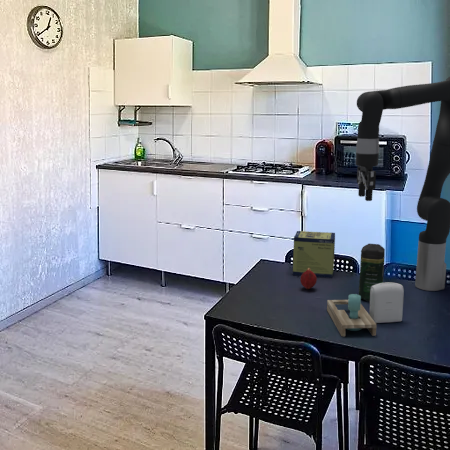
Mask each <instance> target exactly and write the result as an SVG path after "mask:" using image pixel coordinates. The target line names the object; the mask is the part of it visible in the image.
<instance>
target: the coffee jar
mask: <svg viewBox="0 0 450 450" xmlns="http://www.w3.org/2000/svg"><path fill="white" fill-rule="evenodd" d="M385 251H386V250H385V247H383V246H382V245H381V244H379V243H378V244H377V243H367V244H365V245H363V247H362V248H361V250H360V265H359V281H358V295H360V296H361V300H363V301H366V302H370V289H371V286H373V285H376V284H379V283H384V275H385V274H384V272H385V257H386V256H385Z"/></svg>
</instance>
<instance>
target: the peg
mask: <svg viewBox="0 0 450 450" xmlns="http://www.w3.org/2000/svg"><path fill="white" fill-rule="evenodd" d="M347 300H348V304H347V309H348V310H349V318H350V319H358V311H359V310H360V305H361V304H362V302H361V301H362V299H361V296H360V295H359V294H357V293H350V294H348V299H347ZM362 329H363V328H346V330H348V331H351V332H359V331H362Z"/></svg>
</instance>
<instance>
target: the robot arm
mask: <svg viewBox="0 0 450 450" xmlns="http://www.w3.org/2000/svg"><path fill="white" fill-rule="evenodd" d="M436 102H440V105H439V106H440V108H439V114H438V119H437V124H436V127H435V133H434V137H433V140H432V141H433V142H432V146H431V150H430V151H431V152H430V155H429V156H430V157H429V161H428V165H427V170H426V174H425V178H424V182H423V185H422V188H421V191H420V194H419V198H418V200H417V204H416V212H417V216H418V217H419V218H420V219H422V220H424V221H426V227H425V230H422V231H420V232H419V234H418V242H417V243H418V246H417V255H416V256H417V257H416V270H415V282H414V283H415V284H414V286H415V288H417V289H420V290H423V291H427V292H429V291H430V292H435V291H441V290H445V286H446V275H447V274H446V273H447V263H446V262H445V260H446V259H445V258H446V256H445V255H446V248H447V247H446V246H447V239H448V237H449V235H450V201H449V200H448V199H446V198H444V197H441V194H442V192H443V191H442V190H443V186H444V183H445V181H446V180H447V178H448V176H450V76H448V78H446V79H445V80H443V81H436V82H431V83H430V82H429V83H422V84H421V83H420V84H411V85H403V86H397V87H392V88H389V89H381V90H373V91H364V92H362V93H361V94H360V95H359V96H358V97H357V100H356V107H357V108H358V110H359V111H360V112H362V114H361V121H359V123H358V126H357V140H356V144H355V145H356V147H355V165H356V166H357V168H356V169H357V173H356V183H357V186H358V192H357V193H358V195H357V196H358V197H365V198H364V200H365V201H366V202H371V201H372V200H373V193H374V192H373V190H376V181H377V179H376V177H377V171H376V170H374V169H373V168H374V167H378V165H379V157H380V156H379V154H380V152H379V151H380V139H379V137H380V123H381V120H382V116H383V113H384V112H383V111H385V110H397V109H398V110H399V109H404V108H410V107H411V108H412V107H415V106H421V105H425V104H430V103H436Z"/></svg>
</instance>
